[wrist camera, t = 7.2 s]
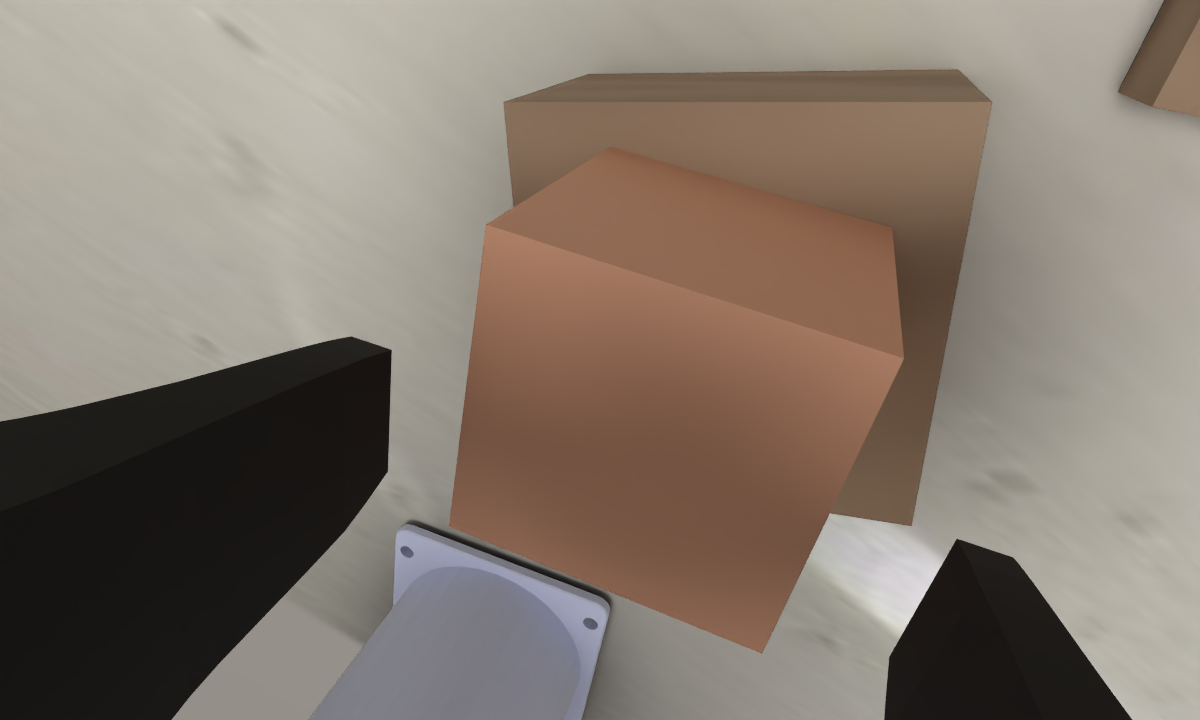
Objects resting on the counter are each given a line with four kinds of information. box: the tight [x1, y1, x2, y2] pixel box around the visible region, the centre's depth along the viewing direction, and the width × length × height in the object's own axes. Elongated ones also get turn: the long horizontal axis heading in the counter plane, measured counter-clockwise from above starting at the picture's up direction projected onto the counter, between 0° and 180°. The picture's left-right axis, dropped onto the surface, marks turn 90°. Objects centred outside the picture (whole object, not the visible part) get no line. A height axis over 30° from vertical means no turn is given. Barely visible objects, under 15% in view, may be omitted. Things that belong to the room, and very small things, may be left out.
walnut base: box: [504, 70, 992, 526], centre depth 16 cm, size 8×8×5 cm
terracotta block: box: [449, 147, 904, 653], centre depth 12 cm, size 5×5×5 cm
